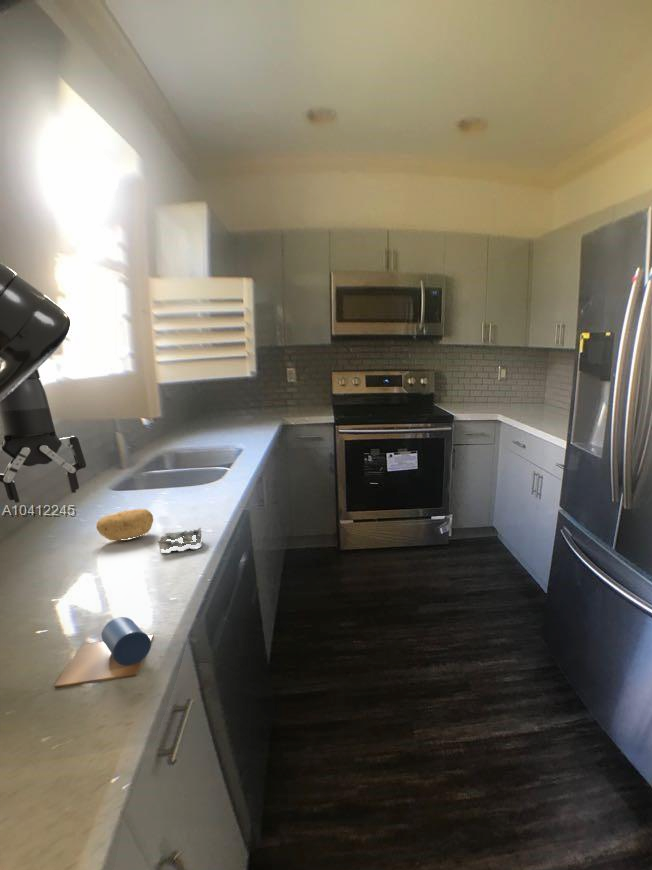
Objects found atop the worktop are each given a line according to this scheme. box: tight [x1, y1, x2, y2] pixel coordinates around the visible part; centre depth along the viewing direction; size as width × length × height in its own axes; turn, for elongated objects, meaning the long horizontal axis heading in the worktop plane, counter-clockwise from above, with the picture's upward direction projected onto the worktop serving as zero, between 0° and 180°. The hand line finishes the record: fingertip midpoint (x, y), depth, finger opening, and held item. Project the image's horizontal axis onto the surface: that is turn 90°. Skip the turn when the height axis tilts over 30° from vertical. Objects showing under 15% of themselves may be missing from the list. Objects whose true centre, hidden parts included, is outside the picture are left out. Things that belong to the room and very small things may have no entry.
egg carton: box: [157, 527, 203, 550], centre depth 121 cm, size 11×8×4 cm
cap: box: [101, 616, 152, 665], centre depth 78 cm, size 6×6×8 cm
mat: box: [54, 634, 155, 689], centre depth 78 cm, size 12×11×1 cm
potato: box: [95, 508, 154, 541], centre depth 127 cm, size 10×14×8 cm
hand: (46, 497), depth 84 cm, fingers open, 8 cm apart
